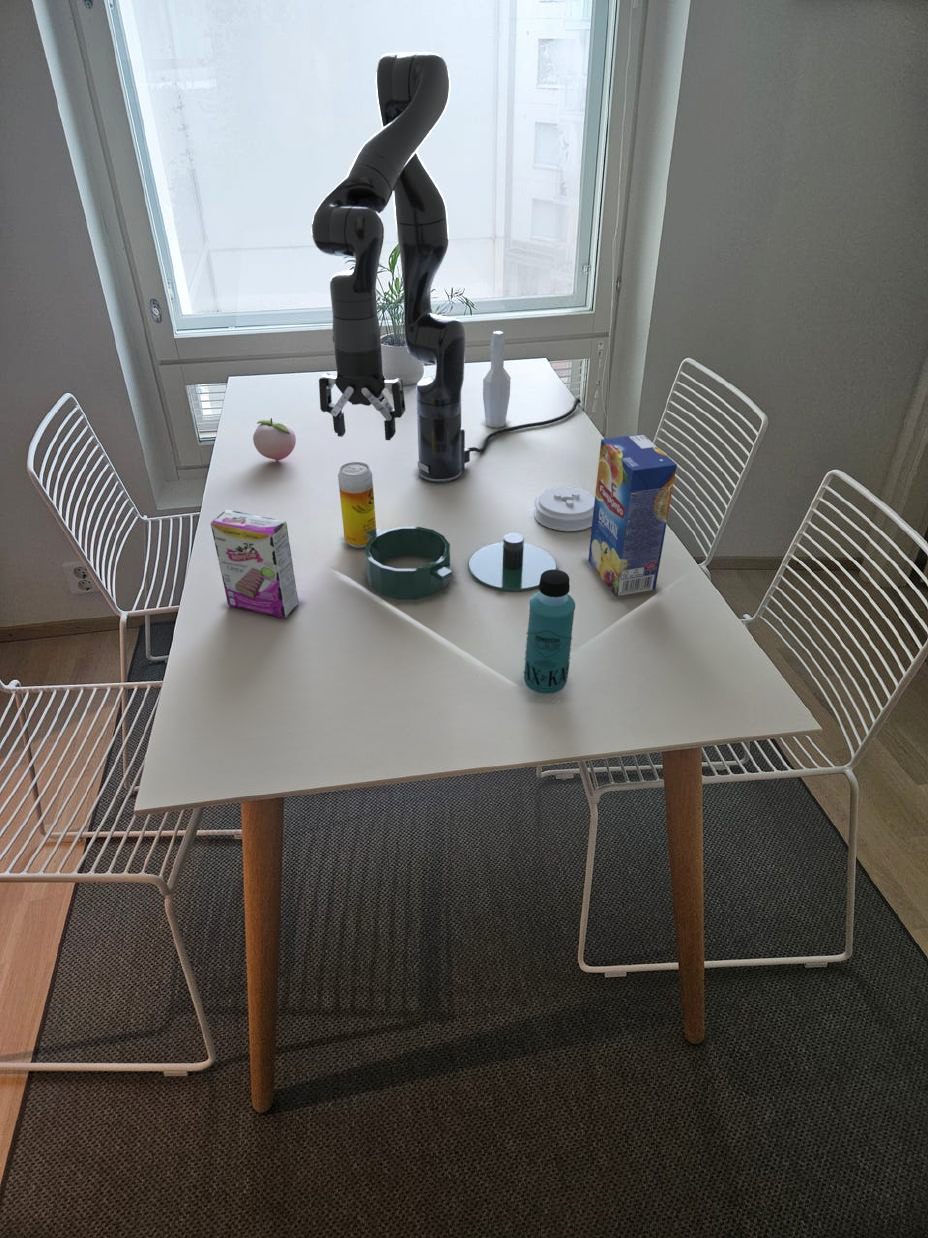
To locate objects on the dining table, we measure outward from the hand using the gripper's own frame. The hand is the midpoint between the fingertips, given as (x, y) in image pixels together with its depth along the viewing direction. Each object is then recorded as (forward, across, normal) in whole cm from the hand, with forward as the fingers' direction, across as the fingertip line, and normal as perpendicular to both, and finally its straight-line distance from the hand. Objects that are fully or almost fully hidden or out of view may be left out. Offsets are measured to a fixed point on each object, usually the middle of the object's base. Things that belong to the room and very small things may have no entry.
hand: (365, 436), depth 139 cm
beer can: (+22, +3, 0) cm, 22 cm away
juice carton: (+22, -46, +3) cm, 51 cm away
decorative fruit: (+22, +31, -29) cm, 48 cm away
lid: (+22, -35, -16) cm, 44 cm away
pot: (+21, -10, +10) cm, 26 cm away
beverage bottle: (+22, -36, +35) cm, 55 cm away
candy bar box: (+22, +12, +23) cm, 34 cm away
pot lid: (+21, -27, +4) cm, 34 cm away
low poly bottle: (+22, -14, -60) cm, 65 cm away
